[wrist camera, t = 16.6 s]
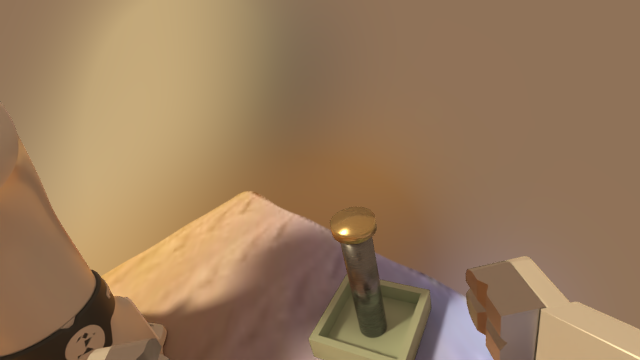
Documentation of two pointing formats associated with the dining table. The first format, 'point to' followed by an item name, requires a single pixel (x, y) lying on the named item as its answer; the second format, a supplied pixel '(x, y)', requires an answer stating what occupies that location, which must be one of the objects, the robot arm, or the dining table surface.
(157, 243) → the dining table surface
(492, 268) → the robot arm
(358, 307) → the lock pin
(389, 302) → the tray
